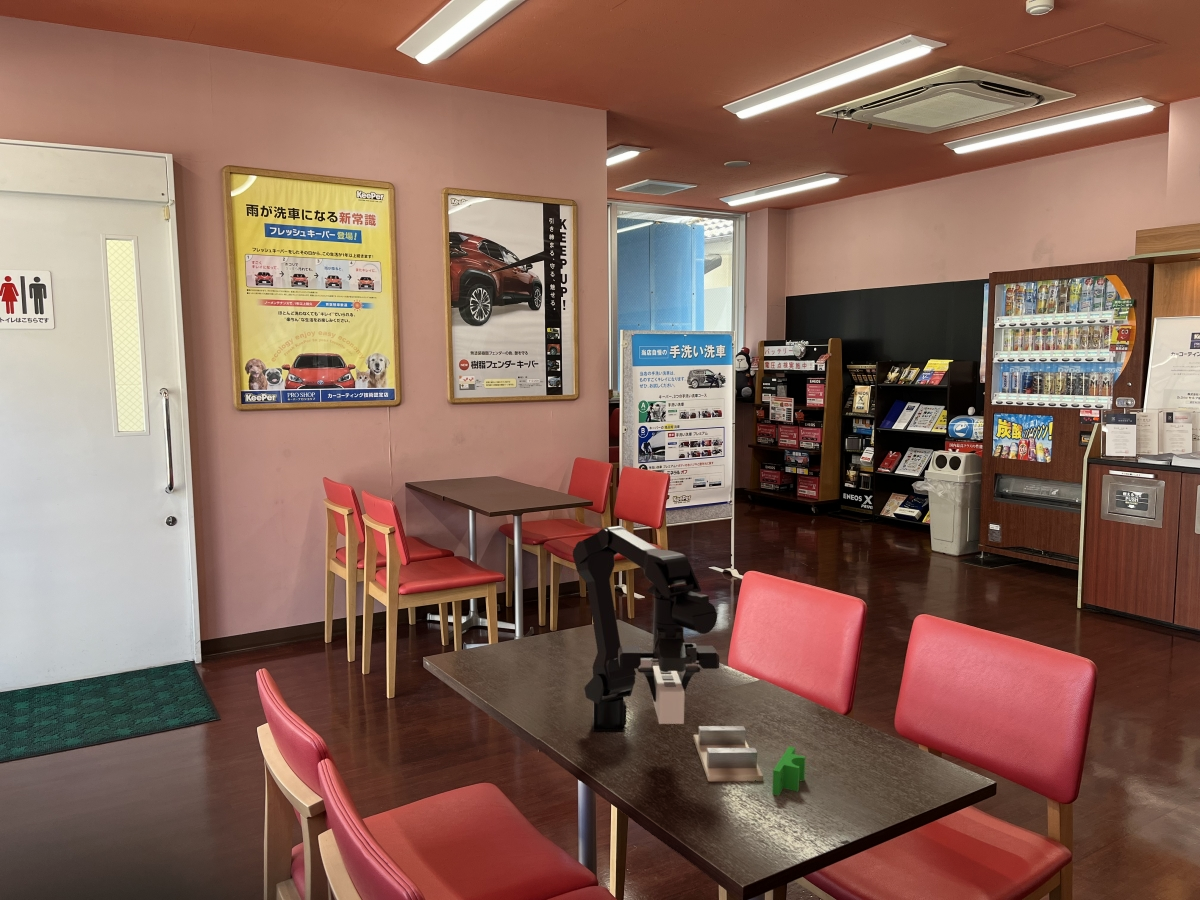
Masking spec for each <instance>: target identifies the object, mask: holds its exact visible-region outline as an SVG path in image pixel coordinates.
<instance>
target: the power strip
mask: <svg viewBox="0 0 1200 900" xmlns="http://www.w3.org/2000/svg"><path fill="white" fill-rule="evenodd" d="M652 666H653V669H654V680H655V689H656V702H654V700H653V697H652V696H651V698H652V701H653V706H654V708H655V709H654V710H655V713H656V714H655V715H656V717H657V720H658V724H659V725H661V724H662V725H665V724H666V725H670V724H671V725H672V724H673V725H674V724H675V725H680V724H681V725H684V724H685V693H684V689H683V686H682V684H681V681H680V675H679V674H678V673H679V672H678V671H668V672H663V671H661V670H660V669H659V665H652Z"/></svg>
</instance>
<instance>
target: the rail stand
mask: <svg viewBox="0 0 1200 900" xmlns="http://www.w3.org/2000/svg"><path fill="white" fill-rule="evenodd" d="M746 733H747V730H746V728H745V726H744V725H712V726H711V725H707V726H706V725H705V726H704V725H702V726H701V725H699V726H698V734H693V743H694V744H695V745H694V746H695V747H696V750H697V753H698V756H699V759H700V761H701V762H700V763H701V764H702V768H703V770H704V773H705V775H706V778H707V779H706V780H707V781H708V782H764V775H763V773H762V771H761V769H760V766H759V764H758V751H757V749H756V747H749V744H748V743H747V741H746V737H747V735H746ZM747 780H748V781H747ZM755 780H756V781H755Z"/></svg>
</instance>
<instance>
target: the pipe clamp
mask: <svg viewBox="0 0 1200 900" xmlns="http://www.w3.org/2000/svg"><path fill="white" fill-rule="evenodd" d="M805 774H806V756H804V755H799V754H796V747H795V746H790V745H789V746H788V747H787V749H786V750H785V752H784V754H783V755H782V756H781V758H780V759H779V761H778V762H777V764H776V766H775V767H774V769H773V771H772V795H775V794H776V795H775V796H780V794H781V793H780V792H782V791H783V789H784V788H786V789H785V790H788V789H790V790H789V791H793V790H794V791H793V792H797V791H798V792H799V790H800V789H799V786H800V781H799V780H802V781H801V782H805V780H804V779H806V778H805V777H806V775H805Z"/></svg>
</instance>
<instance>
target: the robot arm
mask: <svg viewBox="0 0 1200 900" xmlns="http://www.w3.org/2000/svg"><path fill="white" fill-rule="evenodd" d="M618 554H619V555H620V556H622V557H624V558H626V559H627V560H628V561H629V562H632V563H633V564H635V565H637V566H638V567H639V568H641V569H642V571H643V574H644V577H645V578H646V579H647V580H648V581H649V582H650V583H651V584H652V585H651V586H650V587H649V588H647V589H646V593H648V594H650V595H653V596H654V598H653V636H652V637H653V638H652V640H653V641H652V642H653V643H652V647H653V648H652V651H647V650H645V651H644V650H643V651H641V649H640V646H639V645H621V639H620V633H619V627H618V622H617V616H616V610H615V609H616V608H615V603H614V599H613V598H614V597H613V591H612V587H611V577H612V573H613V571H614V568H615V566H616V565H615V557H616V556H617V555H618ZM572 558H573V560H574V565H575V569H576V572H577V573H578V575H580V577H581V578H582V580H583V581H584V582H585V583H586V587H587V588H586V589H587V592H588V593H587V594H588V600H589V607H590V612H591V618H592V625H593V630H594V637H595V644H596V649H597V653H596V656H595V659H594V661H593V665H592V678H591V679H590V680H589V681H588V683H587V684H586V685H585V686H584V694H585V698H586V699H588V700H590V701H592V704H593V706H592V717H591V721H592V731H593V732H624V731H625V725H627V702H626V701H625V700H624V699H625V698H626V697H631V696H632V692H633V689H634V685H635V684H636V675H637V673H636V670H637V671H638V673H641V674H642V673H643V674H644V676H645V678H646V681H647V684H648V686H649V689H650V693H651V698H652V697H653V698H652V701H653V700H654V702H656V689H655V680H654V669H653V666H654V665H653V663H658V666H659V669H660V670H661V671H663V672H668V671H677V673H679V678H680V681H681V684H682V686H683V689H684V694H685V693H686V691H687V688H688V685H689V683H690V681H691V679H692V677H693V676H694V675H695V674H696V673H697V674H698V673H701V668H702V669H703V670H704V669H705V670H707V669H709V670H710V669H711V670H713V669H714V670H715V669H716V670H717V669H719V668H720V655H719V653H718V651H717V649H716V648H715V647H714V645H697V644H696V643H694V642H686V640H685V638H684V637H685V636H684V635H685V634H684V631H685V630H684V629H687V630H690V631H692V632H696V633H698V634H700V635H707V634H708V633H710V632H711V631H712V630H713V629H714V627H715V626H716V623H717V620H718V612H717V610H716V608H715V606H714V604H712V603H711V602H710V596H709V595H707V594H701V592H702V589H701V587H700V584H699V580H698V578H697V577H696V575H695V572H694V570H693V568H692V566H691V563H690V560H689V558H688V557H687V555H685V554H684V553H681V552H677V551H675V550H669V549H668V550H666V549H660V548H657V547H656V546H654V545H652V544H650V543H648V542H647V541H645V540H644V539H642V538H640V537H639V536H636V535H635V534H633V533H632V532H629V531H628V530H627V529H626V528H625V527H624V526H621V525H616V526H615V525H614V526H607V527H603V528H602V529H600V530H599V531H597V532H596V533H595V534H591V536H588V537H587V538H584V539H583V540H580V541H578V542H577V543H576V544H575V546H574V548H573V550H572ZM682 584H683V585H682ZM700 667H701V668H700ZM635 669H636V670H635ZM654 702H653V703H654Z"/></svg>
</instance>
